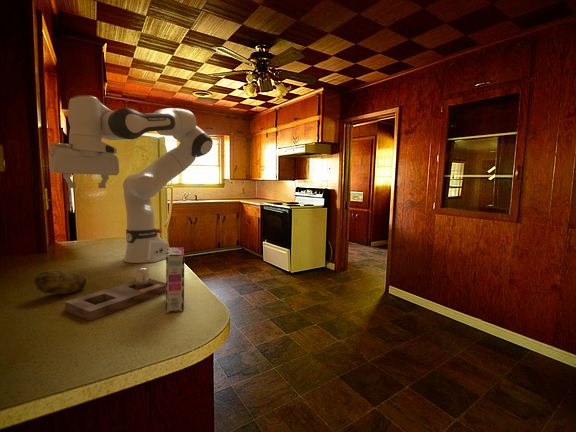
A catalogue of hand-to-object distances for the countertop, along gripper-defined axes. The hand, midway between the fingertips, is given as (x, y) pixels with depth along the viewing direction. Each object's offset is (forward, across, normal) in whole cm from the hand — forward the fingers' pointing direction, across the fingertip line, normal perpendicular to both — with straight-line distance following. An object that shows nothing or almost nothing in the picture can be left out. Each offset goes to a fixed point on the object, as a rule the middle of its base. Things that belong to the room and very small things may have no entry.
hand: (87, 188), depth 99 cm
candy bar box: (+33, +3, -38) cm, 51 cm away
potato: (+33, -10, -2) cm, 35 cm away
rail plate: (+33, -3, -22) cm, 40 cm away
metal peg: (+33, +4, -22) cm, 40 cm away
